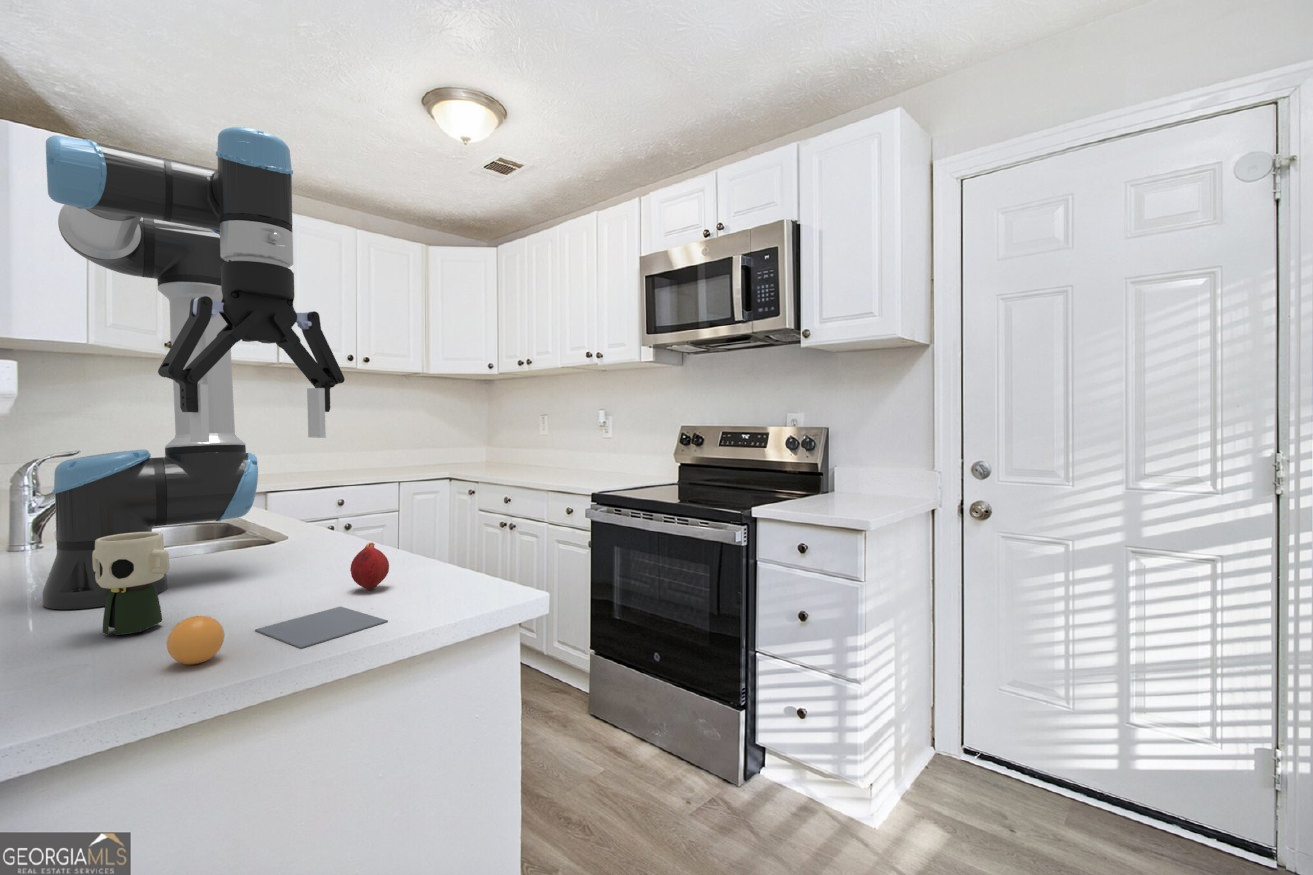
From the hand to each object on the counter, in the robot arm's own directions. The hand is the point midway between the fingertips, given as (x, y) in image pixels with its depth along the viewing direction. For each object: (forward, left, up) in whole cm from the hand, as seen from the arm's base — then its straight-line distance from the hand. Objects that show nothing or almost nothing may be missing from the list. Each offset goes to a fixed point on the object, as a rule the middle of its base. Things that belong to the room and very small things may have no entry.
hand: (262, 439), depth 77 cm
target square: (-3, +8, -26) cm, 28 cm away
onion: (-14, +22, -27) cm, 37 cm away
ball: (-3, -7, -24) cm, 25 cm away
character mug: (-23, -7, -27) cm, 36 cm away
